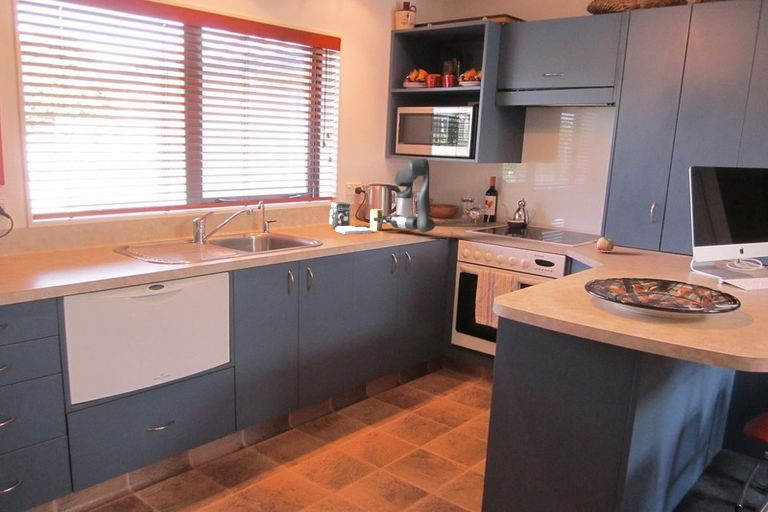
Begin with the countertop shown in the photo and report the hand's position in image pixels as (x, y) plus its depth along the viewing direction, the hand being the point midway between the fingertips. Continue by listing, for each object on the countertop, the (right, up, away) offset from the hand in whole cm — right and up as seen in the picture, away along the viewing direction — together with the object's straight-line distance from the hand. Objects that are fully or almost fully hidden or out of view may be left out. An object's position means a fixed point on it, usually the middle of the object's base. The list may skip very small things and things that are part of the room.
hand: (378, 218), depth 353 cm
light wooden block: (-1, -7, +2) cm, 7 cm away
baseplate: (-14, -8, -7) cm, 17 cm away
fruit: (+116, -20, -38) cm, 124 cm away
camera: (-23, -6, +2) cm, 24 cm away
